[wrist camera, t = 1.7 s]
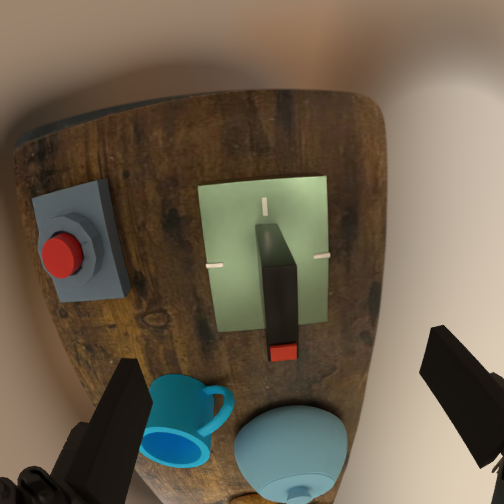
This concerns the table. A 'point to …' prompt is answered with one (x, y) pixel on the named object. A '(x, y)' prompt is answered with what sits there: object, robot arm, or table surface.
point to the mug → (183, 420)
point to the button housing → (85, 240)
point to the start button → (62, 255)
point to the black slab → (278, 293)
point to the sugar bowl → (292, 453)
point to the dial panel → (244, 243)
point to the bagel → (252, 500)
